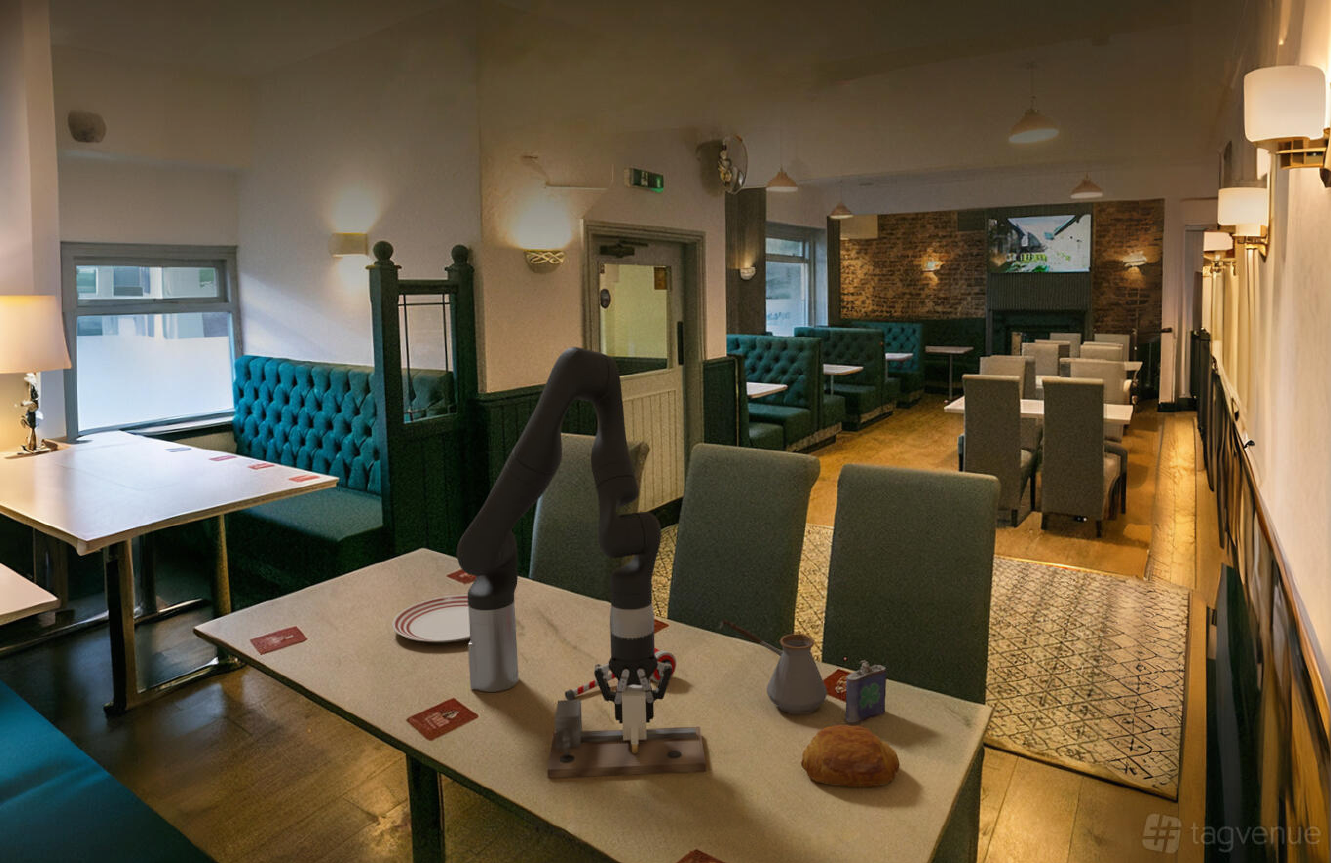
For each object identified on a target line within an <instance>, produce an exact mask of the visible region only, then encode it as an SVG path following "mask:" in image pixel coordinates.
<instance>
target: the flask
mask: <svg viewBox="0 0 1331 863" xmlns="http://www.w3.org/2000/svg"><path fill="white" fill-rule="evenodd" d="M858 664H859V665H860V664H861V667H860V669H858V670H856V671H854V672H851V673H850V674H847V675H846V676H845V682H846V683H845V684H846V685H845V716H844V717H845V718H844V719H845V720H844V721H845V723H846V724H847V725H850V726H853V725H860V723H863V722H867V721H870V720H871V719H872V718H873V719H875V718H876V717H880V716H884V715H885V713H886V696H887V694H886V692H887V690H886V687H887V671H888V670H887V667H886V666H883V665H880V664H878V665H877V664H874V665H872V666H870V664H869V663H868V661H866V660H865V659H864V660H861V661H860V662H859V663H858Z"/></svg>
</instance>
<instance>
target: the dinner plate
mask: <svg viewBox="0 0 1331 863" xmlns="http://www.w3.org/2000/svg"><path fill="white" fill-rule="evenodd" d="M391 627H392V629H393V631H394V632H395V633H396V634H398V635H399V636H400V637H403V638H405V639H408V640H413V641H419V642H427V643H452V641H453V642H459V640H460V641H464V640H470V628H469V611H468V594H459V595H458V594H455V595H447V596H440V597H436V598H435V597H434V598H430V599H427V600H426V599H425V600H424V601H420V602H418V603H415V604H412V605H409V607H406V608H405V609H402V611H400V612H399V613H398V614H396V616H394V618H393V620H392V624H391Z"/></svg>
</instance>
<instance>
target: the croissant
mask: <svg viewBox="0 0 1331 863" xmlns="http://www.w3.org/2000/svg"><path fill="white" fill-rule="evenodd" d="M800 766H801V768H803V770H805V772H806V775H807V777H809V779H810V780H813V781H814V782H816V783H820V784H826V785H829V786H841V787H861V788H869V787H870V788H871V787H877V786H878V787H879V786H884V785H886V784H889V783H890V782H891V781H892V780H895V778H896V773H898V771H899V768H900V767H901V766H900V761H899V758H898V755H897V753H896V750H894V749H893V748H892V747H890V745H889V744H888V743H886V742H885V741H883V740H880V738H879V737H878V736H877V735H876V734H874V733H872V731H871V730H870V729H869V728H867V727H863V726H860V725H850V724H836V725H832V726H831V725H830V726H827V727H825V728H822V729H821V730H819V731H817V732H816V735H815V736H813V737H812V739H811V740H810V743H809V744H808V745H807V746H806V748H805V749H804V750H803V751H802V758H801V762H800Z"/></svg>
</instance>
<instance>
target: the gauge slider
mask: <svg viewBox="0 0 1331 863" xmlns="http://www.w3.org/2000/svg"><path fill="white" fill-rule="evenodd" d="M622 718H623V723H622V730H623V740H631V745H632V752H633V753H637V752H638V740H642V739H647V737H646V729H647V723H646V697H645V692H643V688H642V685H630V686H626V687H625V691H624V693H622Z"/></svg>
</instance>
